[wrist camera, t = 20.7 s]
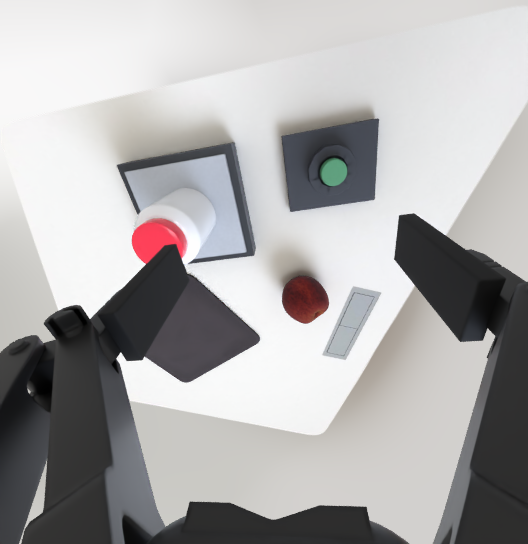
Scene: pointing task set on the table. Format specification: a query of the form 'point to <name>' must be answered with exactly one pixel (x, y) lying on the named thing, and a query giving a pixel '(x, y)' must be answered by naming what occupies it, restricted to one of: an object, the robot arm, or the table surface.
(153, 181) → the scale
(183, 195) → the pill bottle
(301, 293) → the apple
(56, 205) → the table surface
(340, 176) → the green button
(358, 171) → the button base
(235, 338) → the mouse pad
